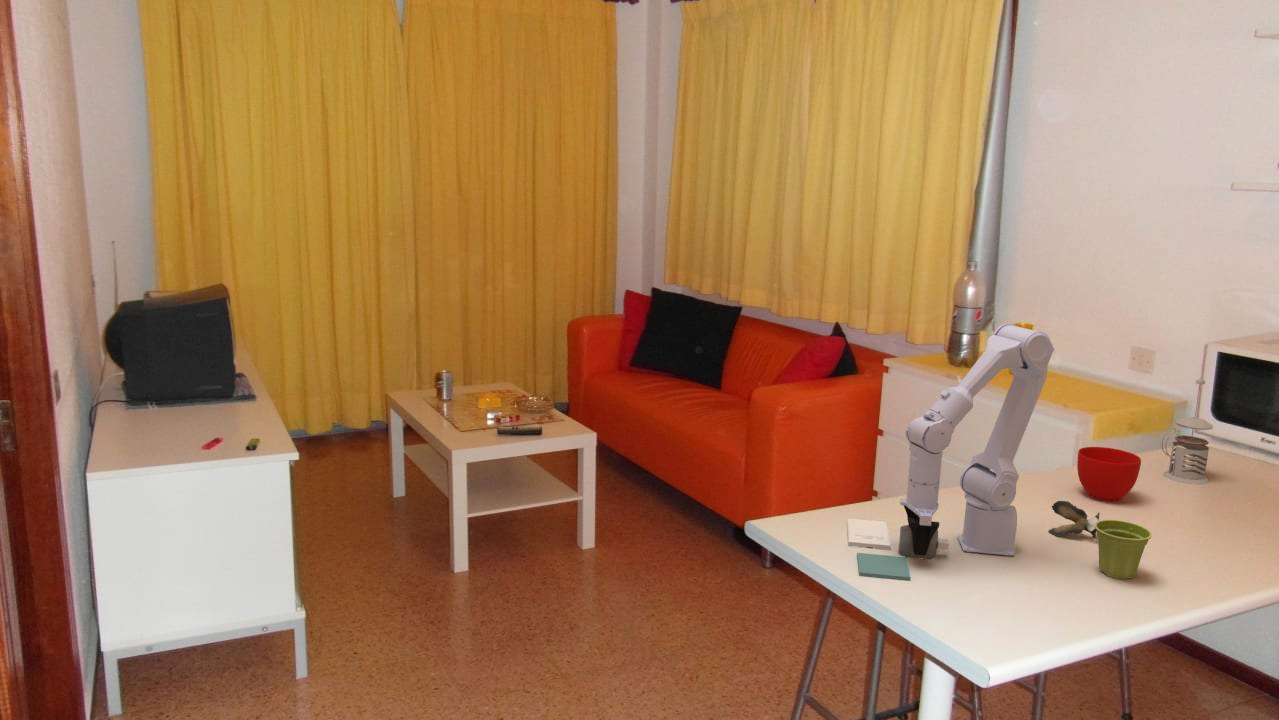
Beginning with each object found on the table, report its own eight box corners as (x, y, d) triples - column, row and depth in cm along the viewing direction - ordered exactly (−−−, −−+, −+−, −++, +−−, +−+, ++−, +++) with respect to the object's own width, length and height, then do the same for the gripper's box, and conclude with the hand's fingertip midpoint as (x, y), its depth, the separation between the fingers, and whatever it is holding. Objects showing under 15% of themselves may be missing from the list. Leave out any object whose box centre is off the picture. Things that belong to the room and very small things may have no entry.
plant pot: (1143, 588, 165) (1150, 543, 164) (1086, 575, 170) (1091, 531, 168) (1147, 570, 173) (1153, 526, 171) (1092, 558, 178) (1097, 515, 176)
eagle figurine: (1092, 523, 193) (1048, 510, 195) (1105, 504, 188) (1059, 490, 190) (1091, 553, 188) (1045, 539, 190) (1104, 534, 183) (1056, 520, 185)
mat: (905, 560, 175) (905, 557, 175) (910, 580, 166) (910, 577, 166) (856, 555, 177) (857, 552, 176) (859, 575, 168) (859, 572, 168)
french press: (1217, 484, 223) (1234, 384, 217) (1169, 483, 223) (1184, 382, 218) (1194, 471, 232) (1209, 374, 227) (1148, 470, 232) (1162, 373, 227)
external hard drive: (887, 529, 192) (890, 553, 180) (846, 525, 193) (847, 548, 181) (887, 521, 191) (891, 545, 179) (847, 518, 193) (848, 541, 181)
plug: (899, 556, 177) (901, 532, 176) (897, 548, 181) (899, 524, 179) (948, 561, 175) (950, 536, 174) (945, 552, 179) (947, 528, 178)
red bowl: (1139, 489, 218) (1145, 449, 216) (1132, 511, 204) (1138, 467, 202) (1079, 478, 225) (1084, 439, 222) (1069, 498, 211) (1074, 456, 208)
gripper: (898, 466, 183) (893, 531, 185) (905, 491, 169) (899, 560, 171) (935, 469, 181) (929, 534, 184) (945, 494, 167) (939, 564, 170)
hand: (917, 547), depth 178 cm, fingers open, 6 cm apart
